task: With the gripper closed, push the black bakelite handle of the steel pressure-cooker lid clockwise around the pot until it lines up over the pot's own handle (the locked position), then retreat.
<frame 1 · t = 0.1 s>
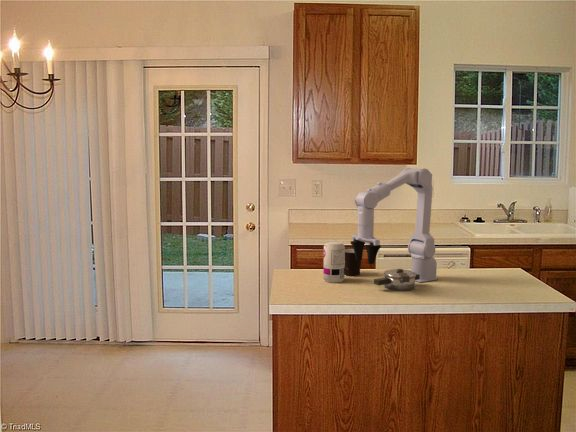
hand: (365, 261, 194), 10 cm above the countertop, tool pointing down, fingers open, 7 cm apart
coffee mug: (351, 274, 219), on the countertop
lid: (401, 273, 194), point 6 cm above the countertop, hinge at 60.0°
pot: (399, 287, 197), on the countertop
supplement can: (333, 281, 207), on the countertop
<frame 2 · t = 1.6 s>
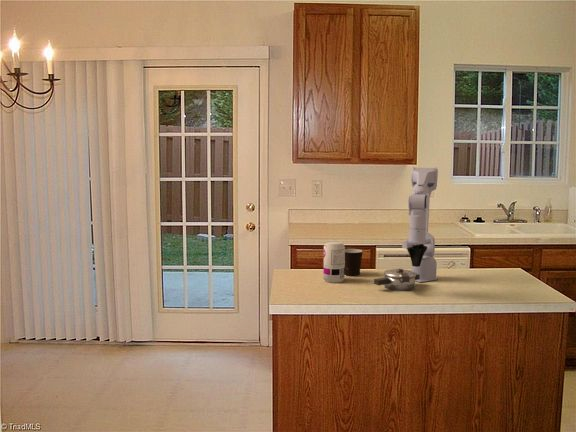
hand: (416, 266, 188), 10 cm above the countertop, tool pointing down, fingers closed
nothing on the countertop moved.
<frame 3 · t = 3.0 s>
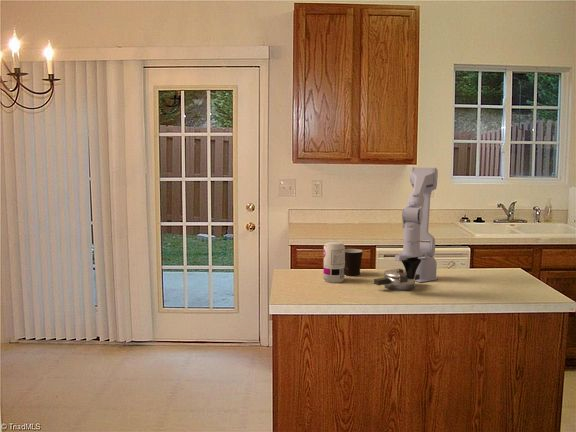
hand: (410, 278, 188), 5 cm above the countertop, tool pointing down, fingers closed
lid: (400, 273, 194), point 6 cm above the countertop, hinge at 56.3°, touching gripper
everything else where it was.
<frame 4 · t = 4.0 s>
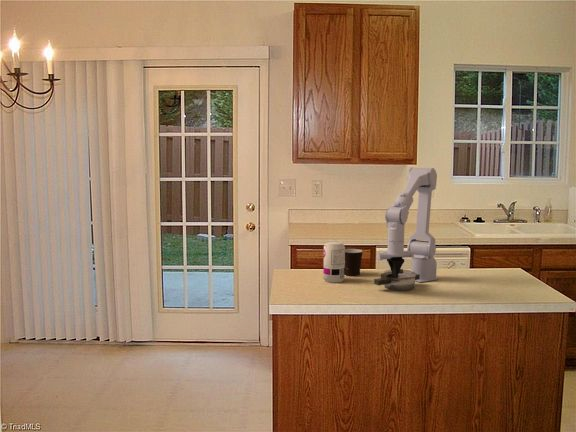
hand: (394, 278, 189), 5 cm above the countertop, tool pointing down, fingers closed, pressing on lid
lid: (396, 273, 195), point 6 cm above the countertop, hinge at 18.0°, touching gripper
everything else where it was.
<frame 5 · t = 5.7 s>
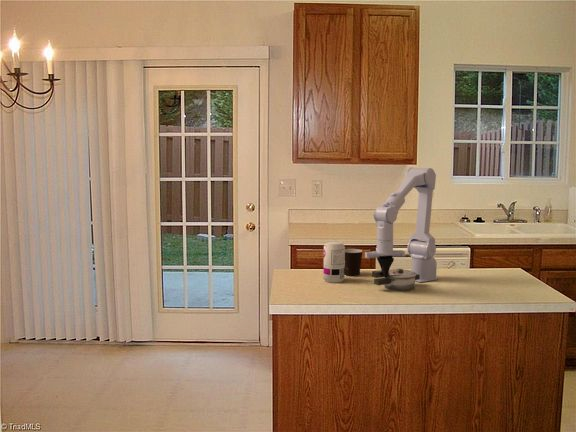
hand: (384, 276, 192), 5 cm above the countertop, tool pointing down, fingers closed, pressing on lid
lid: (393, 272, 196), point 6 cm above the countertop, hinge at -8.5°, touching gripper
everything else where it was.
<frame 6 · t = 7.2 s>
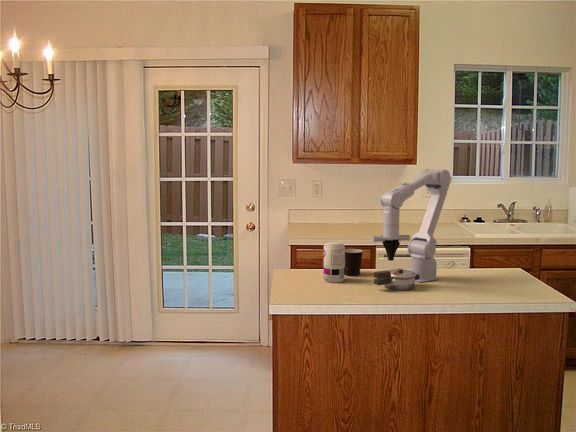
hand: (390, 260, 198), 10 cm above the countertop, tool pointing down, fingers closed
lid: (394, 272, 196), point 6 cm above the countertop, hinge at -1.2°
everything else where it was.
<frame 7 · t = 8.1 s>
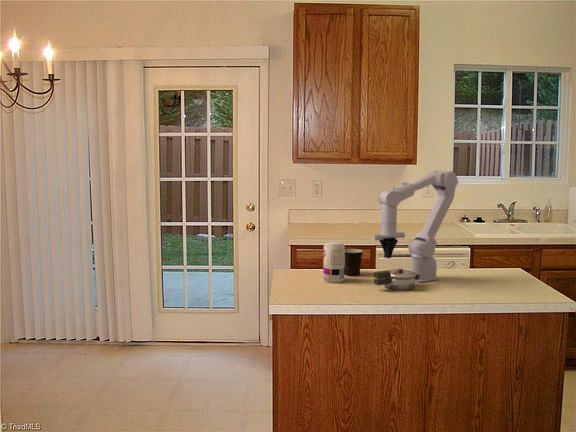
hand: (388, 257, 202), 10 cm above the countertop, tool pointing down, fingers closed
nothing on the countertop moved.
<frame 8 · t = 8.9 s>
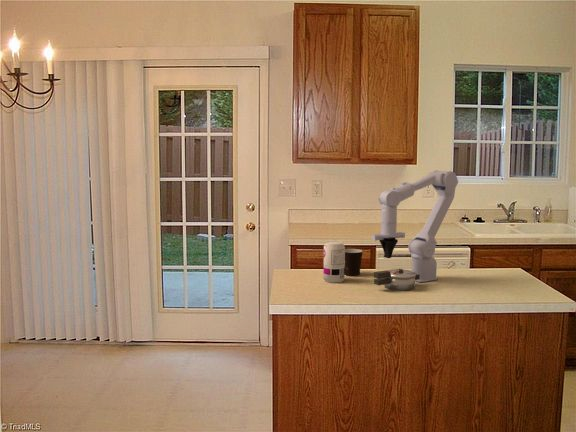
hand: (388, 257, 202), 10 cm above the countertop, tool pointing down, fingers closed
nothing on the countertop moved.
at the end: lid at -1° (first picture: +60°); the gripper is holding nothing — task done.
